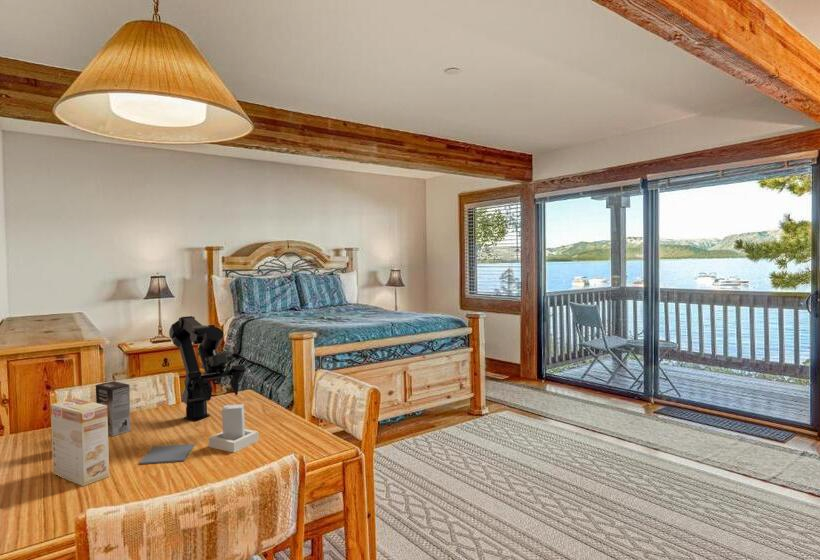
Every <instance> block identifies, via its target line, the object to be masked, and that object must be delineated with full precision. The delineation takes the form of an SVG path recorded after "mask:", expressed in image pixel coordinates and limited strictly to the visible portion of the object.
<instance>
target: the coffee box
mask: <svg viewBox="0 0 820 560" xmlns="http://www.w3.org/2000/svg"><path fill="white" fill-rule="evenodd" d="M130 391H131V389H130V384H128V383H123V382H119V381H115V380H114V381H108V382H102V383H98V384H96V385H95V401H96V402H95V403H98V404H103V405H107V416H108V436H110V437H116V436H118V435H122V434H124V433H127V432H131V400H130V399H131V393H130Z"/></svg>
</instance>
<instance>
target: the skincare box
mask: <svg viewBox="0 0 820 560" xmlns="http://www.w3.org/2000/svg"><path fill="white" fill-rule="evenodd" d="M244 405H245V404H243V403H242V404H224V406H223V407H222V409H221V418H222V421H221V422H222V432H223V438H224V439H229V440H233V441H234V440H236V439H239V438H241V437H243V436H245V429H246V425H245V422H246V421H245V406H244Z"/></svg>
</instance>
